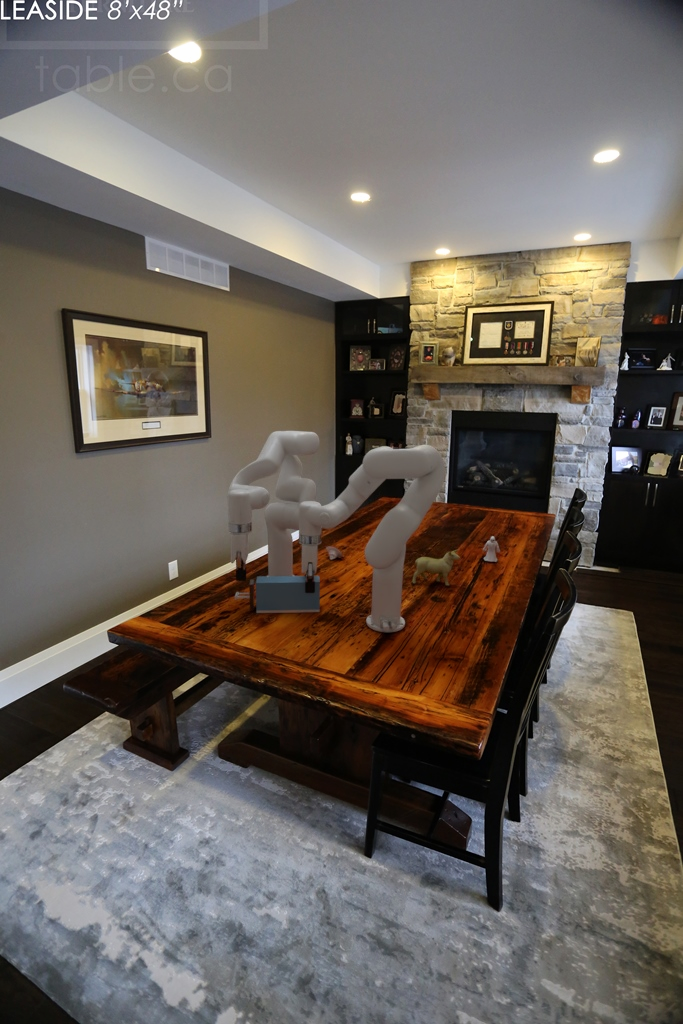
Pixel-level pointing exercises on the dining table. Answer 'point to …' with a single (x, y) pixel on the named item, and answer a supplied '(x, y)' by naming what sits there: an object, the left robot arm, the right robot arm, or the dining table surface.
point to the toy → (435, 566)
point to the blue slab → (286, 595)
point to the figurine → (491, 550)
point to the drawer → (251, 593)
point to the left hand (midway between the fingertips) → (241, 579)
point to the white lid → (333, 552)
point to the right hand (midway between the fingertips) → (309, 588)
